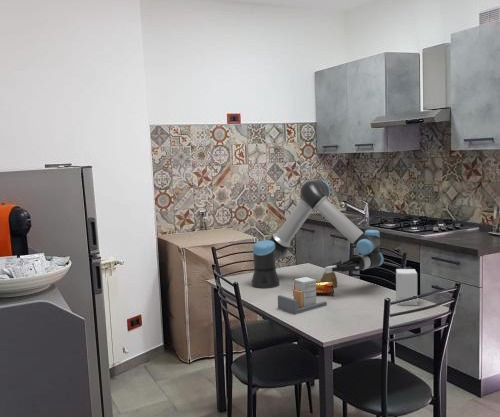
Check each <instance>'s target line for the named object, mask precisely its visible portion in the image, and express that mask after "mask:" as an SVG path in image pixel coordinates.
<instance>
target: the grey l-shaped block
mask: <svg viewBox="0 0 500 417" xmlns="http://www.w3.org/2000/svg"><path fill="white" fill-rule="evenodd" d="M327 304H328V303H327V301H319V302H316V304H313V305H310V306H306V307H303V308H299V309H298V300H295V299H294V298H291V297H289V296H284V295H281V294H279V295H277V308H278V310H282V311H285V312H288V313H290V314H294V315H299V314H301V313H304V312H308V311H311V310H314V309H317V308H318V309H319V308H322V307H325V306H327Z"/></svg>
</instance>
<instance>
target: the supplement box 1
mask: <svg viewBox="0 0 500 417" xmlns="http://www.w3.org/2000/svg"><path fill="white" fill-rule="evenodd" d="M294 290H299V291H302V292H303V307H306V306H310V305H313V304H317V280H316V279H315V278H311V277H308V276H304V277H299V278H295V279H294Z"/></svg>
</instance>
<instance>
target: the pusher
mask: <svg viewBox="0 0 500 417" xmlns="http://www.w3.org/2000/svg"><path fill="white" fill-rule="evenodd" d="M293 299H295V300H298V309H299V308H303V292H302V291H299V290H295V289H294V290H293Z"/></svg>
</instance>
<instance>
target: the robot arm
mask: <svg viewBox="0 0 500 417" xmlns="http://www.w3.org/2000/svg"><path fill="white" fill-rule="evenodd" d="M330 194H331V190H330V186H329V184H328V182H326V181H325V180H323V179H318V178H317V179H314V180H309V181H306V182H304V183H303V184H302V186H301V188H300V194H299V198H300V199H299V201H298V203H297V204H296V206H295V207H294V209H293V210H292V212H291V213H290V214H289V216H288V217H287V219H286V220H285V221H284V223H283V224H282V226H281V227H280V229H279V230H278V231H277V232H275V233H274V232H273V234H272V235H271V236H270V238H269V239H268V240H267V239H265V240H258V241H257V242H255V243H254V244H253V247H252V248H253V250H252V251H253V252H252V253H253V270H254V271H253V273H252V274H253V276H252V279H251V286H252V287H253V288H259V289H269V288H270V289H271V288H276V287H279V285H280V278H279V276H278V274H277V271H276V270H277V268H276V262H277V261H279V260H281V259H283V258H284V257H285V256H286V255H287V253H288V250H289V248H291V241H292V240H293V239H294V237H295V235H296V234H297V233H298V231H299V230H300V228H301V227H302V226H303V224H304V222H306V220H307V219H308V217H309V216H310V214H312V212H313V211H316V212H318V213H319V214H320V215H321V216H322V217H323V218H324V219H325V220H326V221H328V222H329V223H330V224H331V225H332V226H334V228H336V230H337V231H338V232H339V233H341V234H342V235H343V236H344V237H345V238H346V239H347V240H348V241H350V243H352V244H353V245H354V246H355V248H356V250H357V252H358V253H359V255H355V256H352V257H350V259H348V260H346V261H342V260H339V261H337V262H334V263H332V264H331V265H330V266H329V265H328V266H329V267H328V266H325V267H324V272H325V273H331V272H334V273H335V272H342V273H343V272H359V271H365V270H368V269H373V268H377V267H379V266H382V265H383V263H384V261H385V258H384V255H383V254H382V252H380V245H381V244H380V243H381V242H380V238H381V234H380V231H379V230H377V229H367V230H365V231H364V232H363V231H362V229H360V228H359V227H358V226H357V225H356V224H355V223H353V222H352V220H350V219H349V218H348V217H347V216H346V215H345V214H344V213H343V212H341V210H339V209H338V208H337V207H336V206H335V205H334V204H332V203H331V201H329V199H328V197H329V195H330Z"/></svg>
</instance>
